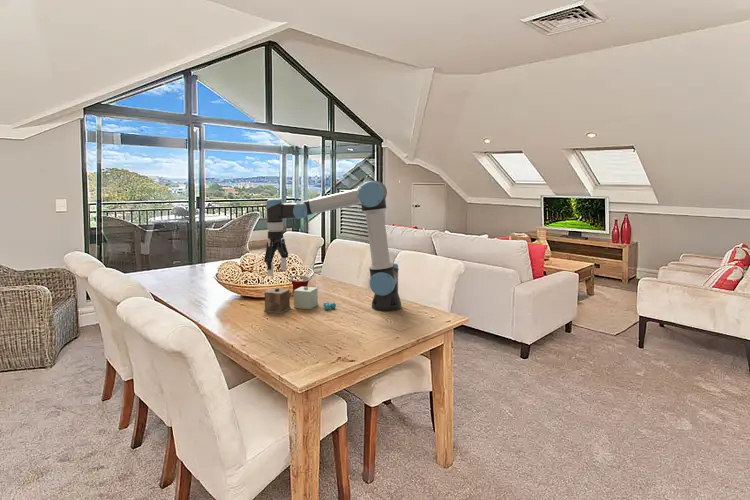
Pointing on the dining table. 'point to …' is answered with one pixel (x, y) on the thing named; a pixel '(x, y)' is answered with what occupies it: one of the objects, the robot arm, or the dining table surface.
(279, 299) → the walnut cover
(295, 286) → the plastic cup
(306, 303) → the sage cover
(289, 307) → the grey square plate
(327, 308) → the marbles
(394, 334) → the dining table surface
